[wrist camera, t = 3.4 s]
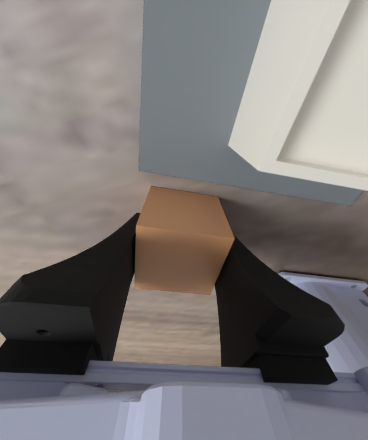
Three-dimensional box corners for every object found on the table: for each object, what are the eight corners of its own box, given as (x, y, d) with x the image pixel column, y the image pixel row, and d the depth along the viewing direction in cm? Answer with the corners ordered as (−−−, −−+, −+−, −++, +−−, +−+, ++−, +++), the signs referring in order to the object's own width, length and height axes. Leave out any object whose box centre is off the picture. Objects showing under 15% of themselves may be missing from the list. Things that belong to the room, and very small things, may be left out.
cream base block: (454, -10, 6) (828, -170, 3) (336, 166, 10) (427, 201, 6) (291, -67, 6) (496, -392, 2) (227, 145, 9) (258, 171, 6)
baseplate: (485, 12, 7) (517, 2, 6) (341, 200, 12) (350, 206, 11) (151, -102, 6) (147, -130, 5) (141, 166, 11) (138, 170, 10)
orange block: (217, 196, 12) (234, 238, 8) (202, 245, 14) (209, 295, 11) (151, 185, 11) (135, 225, 8) (147, 238, 14) (134, 287, 10)
